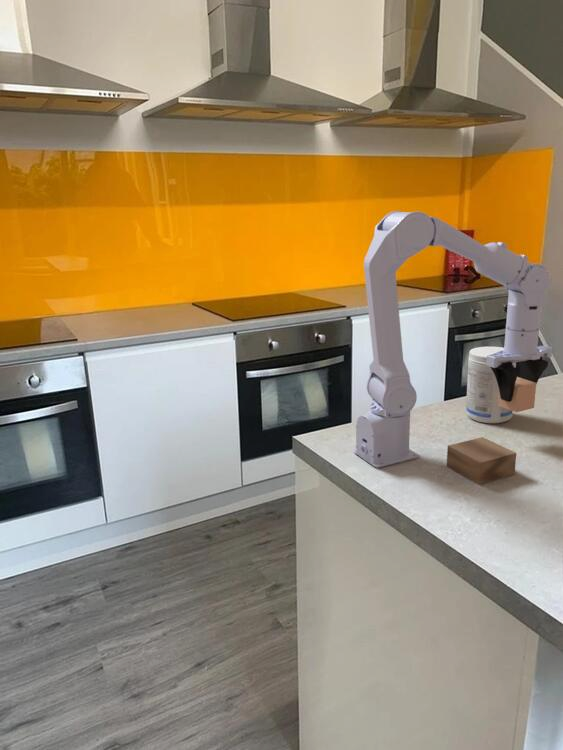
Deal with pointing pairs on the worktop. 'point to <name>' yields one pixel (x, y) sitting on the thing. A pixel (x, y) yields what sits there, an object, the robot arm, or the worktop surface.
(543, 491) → the worktop surface
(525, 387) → the orange-tan cube
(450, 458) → the walnut block
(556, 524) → the worktop surface
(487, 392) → the supplement tub
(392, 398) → the robot arm
